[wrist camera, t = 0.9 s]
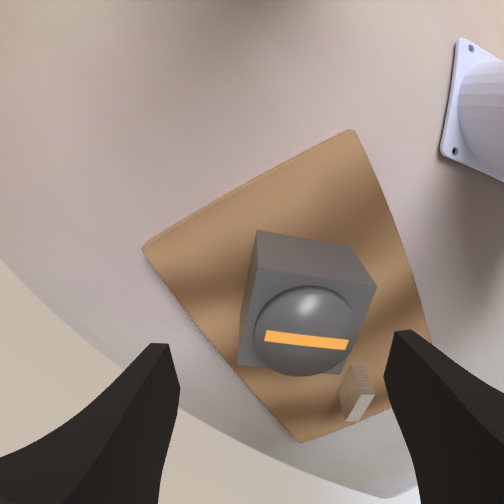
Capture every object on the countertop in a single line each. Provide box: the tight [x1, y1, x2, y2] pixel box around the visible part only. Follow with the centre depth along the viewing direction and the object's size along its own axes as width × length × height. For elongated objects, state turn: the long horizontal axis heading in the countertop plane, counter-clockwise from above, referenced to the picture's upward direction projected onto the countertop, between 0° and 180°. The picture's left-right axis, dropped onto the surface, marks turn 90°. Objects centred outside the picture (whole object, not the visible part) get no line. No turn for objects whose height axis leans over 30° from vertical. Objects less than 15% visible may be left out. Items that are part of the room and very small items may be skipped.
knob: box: [237, 230, 377, 377], centre depth 16 cm, size 5×5×5 cm
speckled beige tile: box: [338, 364, 375, 421], centre depth 20 cm, size 1×3×3 cm, turn 170°
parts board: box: [141, 130, 431, 444], centre depth 20 cm, size 21×13×1 cm, turn 30°
